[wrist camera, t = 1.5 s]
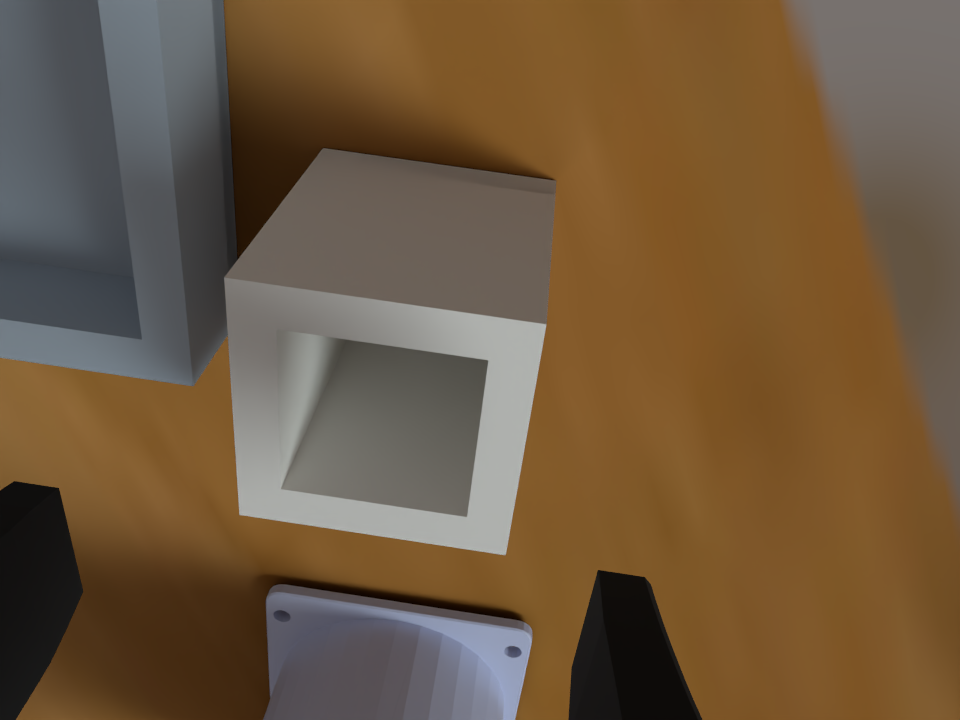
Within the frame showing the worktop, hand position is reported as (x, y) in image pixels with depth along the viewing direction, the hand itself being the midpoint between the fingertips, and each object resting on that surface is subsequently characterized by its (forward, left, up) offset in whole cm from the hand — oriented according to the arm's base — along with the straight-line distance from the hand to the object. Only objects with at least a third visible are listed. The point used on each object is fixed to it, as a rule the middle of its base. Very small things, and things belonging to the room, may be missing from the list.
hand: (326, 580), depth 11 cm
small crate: (0, 0, -10) cm, 10 cm away
